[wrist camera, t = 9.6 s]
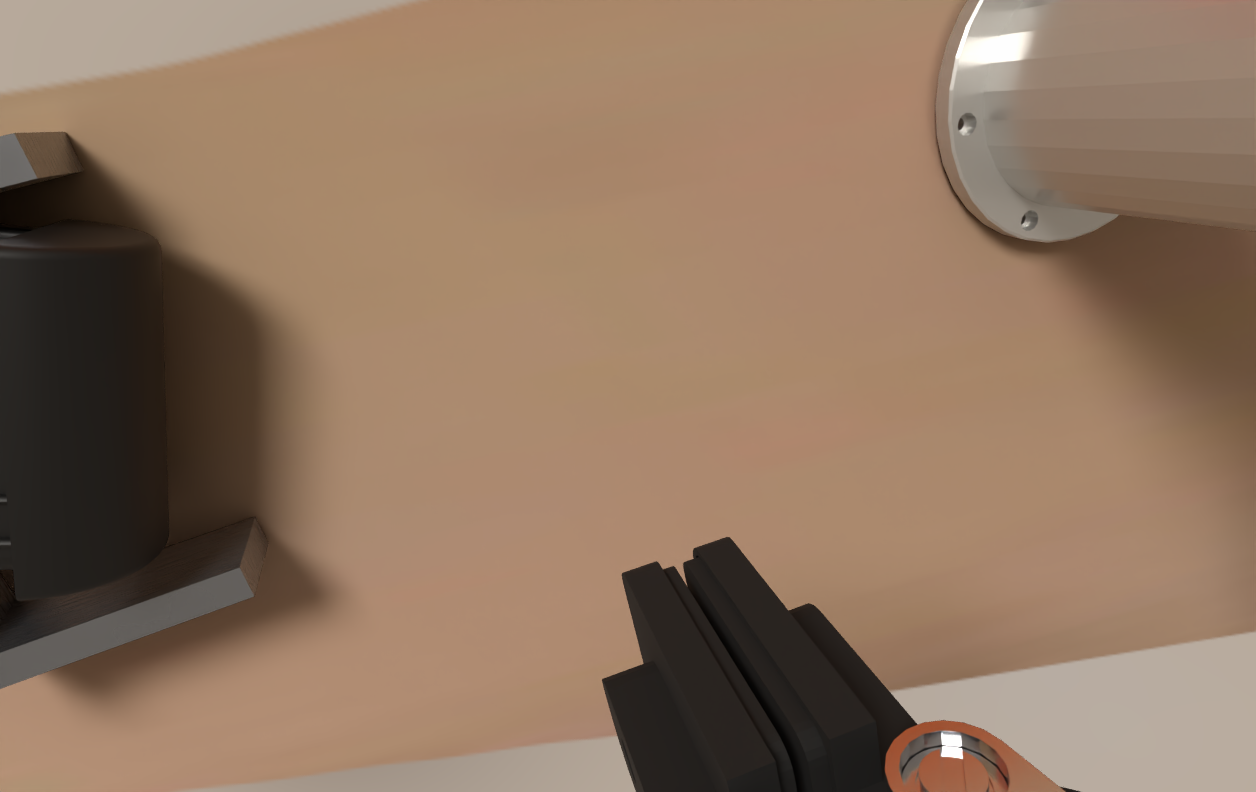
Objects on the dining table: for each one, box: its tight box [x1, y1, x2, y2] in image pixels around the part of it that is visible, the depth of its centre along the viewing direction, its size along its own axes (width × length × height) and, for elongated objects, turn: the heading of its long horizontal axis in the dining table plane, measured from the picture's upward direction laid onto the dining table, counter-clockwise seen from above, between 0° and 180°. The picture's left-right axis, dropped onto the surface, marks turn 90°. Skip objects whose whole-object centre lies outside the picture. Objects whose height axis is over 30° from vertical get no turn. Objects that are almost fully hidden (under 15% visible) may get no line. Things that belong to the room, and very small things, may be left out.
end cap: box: [0, 219, 169, 601], centre depth 24 cm, size 10×7×7 cm
